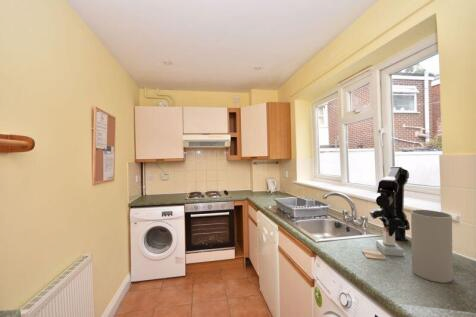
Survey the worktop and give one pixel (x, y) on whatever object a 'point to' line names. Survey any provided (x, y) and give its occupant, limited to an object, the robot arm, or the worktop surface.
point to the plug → (388, 237)
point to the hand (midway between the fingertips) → (388, 234)
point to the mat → (373, 255)
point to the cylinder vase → (432, 245)
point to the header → (389, 248)
